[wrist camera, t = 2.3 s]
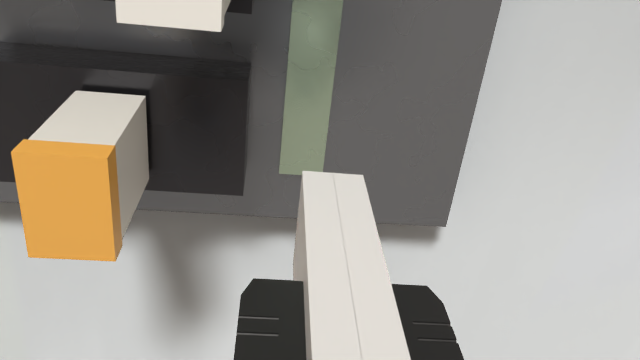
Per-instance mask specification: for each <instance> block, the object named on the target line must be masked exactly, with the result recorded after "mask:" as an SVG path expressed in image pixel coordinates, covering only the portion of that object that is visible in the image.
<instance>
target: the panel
mask: <svg viewBox="0 0 640 360" xmlns="http://www.w3.org/2000/svg"><path fill="white" fill-rule="evenodd" d="M501 2H502V0H231V1H230V3H229V6H228V8H227V11H226V13H225V15H224V26H223V28H222V31H221V32H215V31H204V30H193V29H182V28H171V27H160V26H148V25H137V24H126V23H117V19H116V3H115V0H0V202H15V203H19V198H18V192H17V186H16V180H15V174H14V168H13V162H12V156H11V151H12V150H13V149H14V148H15V147H16V146H17V145H18V144H19V143H20V142H21V141H22V140H23V139H27V140H28V139H29V138H30V137H31V136H32V135H33V134H34V133H35V132H36V131H37V130H38V129H39V128H40V127H41V125H42V124H43V123H44V122H45V121H46V120H47V119H48V118H49V117H50V116H51V115H52V114H53V113H54V112H55V111H56V110H57V109H58V108H59V107H60V106H61V105H62V104H63V103H64V102H65V101H66V100H67V99H68V98H69V97H70V96H71V95H72V94H73V93H74V92H75V91H89V92H102V93H115V94H128V95H141V96H146V116H147V140H148V164H149V180H148V182H147V185H146V187H145V189H144V192H143V194H142V196H141V198H140V201H139V203H138V205H137V207H136V209H139V210H157V211H175V212H193V213H210V214H228V215H246V216H264V217H281V218H298V209H299V199H300V189H301V179H302V171H314V172H328V173H342V174H356V175H363V177H364V180H365V184H366V188H367V192H368V196H369V200H370V204H371V208H372V211H373V215H374V219H375V223H388V224H406V225H424V226H442V227H446V224H447V220H448V216H449V212H450V208H451V204H452V200H453V196H454V192H455V188H456V183H457V179H458V175H459V171H460V167H461V163H462V159H463V155H464V151H465V147H466V143H467V139H468V135H469V131H470V127H471V123H472V119H473V115H474V111H475V107H476V103H477V99H478V95H479V91H480V87H481V83H482V79H483V75H484V71H485V67H486V63H487V59H488V55H489V51H490V47H491V43H492V39H493V35H494V31H495V26H496V22H497V18H498V14H499V10H500V6H501Z"/></svg>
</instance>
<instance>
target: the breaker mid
mask: <svg viewBox="0 0 640 360" xmlns="http://www.w3.org/2000/svg"><path fill="white" fill-rule="evenodd" d="M230 1H231V0H115V3H116V19H117V23H126V24H137V25H148V26H160V27H171V28H182V29H193V30H204V31H215V32H221V31H222V28H223V26H224V15H225V13H226V11H227V8H228V6H229V3H230Z"/></svg>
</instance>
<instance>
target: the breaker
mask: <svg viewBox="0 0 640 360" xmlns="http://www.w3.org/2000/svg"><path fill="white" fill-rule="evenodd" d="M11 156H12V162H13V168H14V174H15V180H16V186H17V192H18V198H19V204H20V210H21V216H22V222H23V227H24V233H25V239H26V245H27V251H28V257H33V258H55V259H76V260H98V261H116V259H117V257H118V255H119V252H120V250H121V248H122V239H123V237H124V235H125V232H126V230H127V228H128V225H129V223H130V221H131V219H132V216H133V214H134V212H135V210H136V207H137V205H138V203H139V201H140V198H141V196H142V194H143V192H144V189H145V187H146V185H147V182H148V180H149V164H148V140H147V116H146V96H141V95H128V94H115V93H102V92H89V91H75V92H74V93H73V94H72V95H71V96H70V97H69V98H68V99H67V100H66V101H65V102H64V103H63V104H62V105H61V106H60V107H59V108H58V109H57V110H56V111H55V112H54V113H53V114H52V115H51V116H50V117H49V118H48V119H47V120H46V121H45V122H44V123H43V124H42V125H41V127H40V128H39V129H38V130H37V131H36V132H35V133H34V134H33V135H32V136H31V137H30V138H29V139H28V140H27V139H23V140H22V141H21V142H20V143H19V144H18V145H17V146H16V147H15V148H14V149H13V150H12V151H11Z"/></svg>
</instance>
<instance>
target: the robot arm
mask: <svg viewBox="0 0 640 360" xmlns="http://www.w3.org/2000/svg"><path fill="white" fill-rule="evenodd" d="M234 360H464V358H463V356H462V353H461V350H460V347H459V345H458V343H456V337H455V334H454V331H453V329H452V327H450V320H449V318H448V315H447V312H446V310H445V307H444V304H443V303H442V301H441V300H440V299H439V298H438V297H437V296H436V295H435V294H434V293H433V292H432V291H431V290H430V289H429V287H428V286H419V285H400V284H391V281H390V277H389V273H388V269H387V266H386V262H385V258H384V254H383V250H382V246H381V242H380V238H379V235H378V231H377V227H376V223H375V219H374V215H373V211H372V208H371V204H370V200H369V196H368V192H367V188H366V184H365V180H364V177H363V175H356V174H342V173H328V172H314V171H302V179H301V189H300V199H299V209H298V218H297V228H296V238H295V248H294V258H293V281H291V280H272V279H253V280H252V281H251V282H250V284H249V285H248V286H247V288H246V289H245V290H244V292H243V293H242V294H241V300H240V309H239V319H238V326H237V336H236V344H235V353H234Z"/></svg>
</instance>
